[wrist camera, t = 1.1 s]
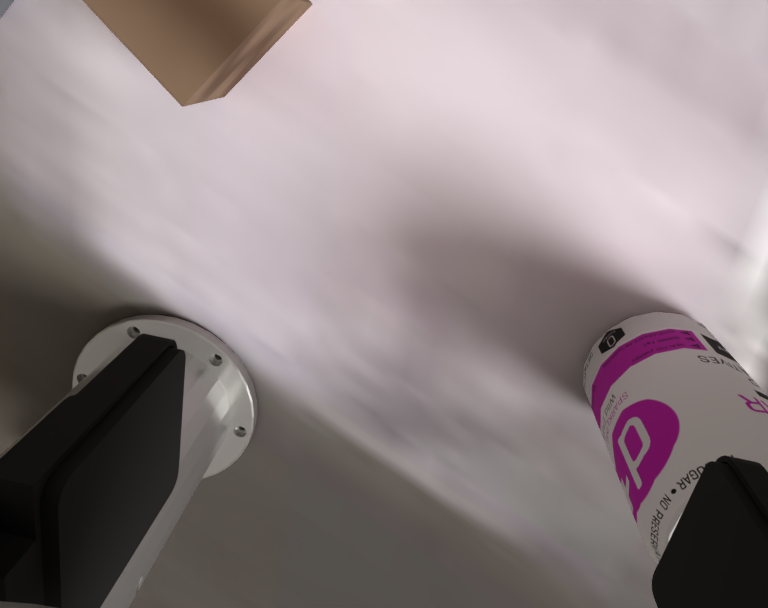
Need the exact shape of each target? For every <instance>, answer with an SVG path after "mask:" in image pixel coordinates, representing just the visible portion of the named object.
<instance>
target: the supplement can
mask: <svg viewBox="0 0 768 608" xmlns="http://www.w3.org/2000/svg"><path fill="white" fill-rule="evenodd" d="M583 387H584V390H585V392H586V395H587V397H588V400H589V403H590V405H591V408H592V410H593V413H594V415H595V418H596V421H597V423H598V426H599V428H600V431H601V433H602V436H603V438H604V441H605V444H606V446H607V449H608V451H609V454H610V456H611V459H612V462H613V464H614V467H615V469H616V472H617V474H618V477H619V480H620V482H621V485H622V487H623V490H624V492H625V495H626V497H627V500H628V503H629V505H630V508H631V510H632V513H633V515H634V518H635V521H636V523H637V526H638V528H639V531H640V533H641V536H642V538H643V541H644V543H645V545H646V548H647V550H648V552H649V555H650V557H651V559H652V560H653V561H655V562H656V563H657V564H658V563H659V561H660V559H661V557H662V555H663V553H664V551H665V549H666V547H667V544H668V542H669V540H670V538H671V536H672V534H673V532H674V530H675V528H676V526H677V524H678V521H679V519H680V517H681V515H682V513H683V511H684V509H685V507H686V505H687V503H688V501H689V498H690V496H691V494H692V492H693V490H694V488H695V486H696V484H697V482H698V480H699V478H700V475H701V473H702V471H703V469H704V467H705V466H706V464H707V463H709V462H711V461H714V462H716V460H717V459H718V458H719V457H721V456H724V455H726V456H730V457H735V458H740V459H745V460H750V461H754V462H758V463H760V464H761V465H762V466H763V467H764V468H765V469H766V471H767V472H768V396H767V395H766V393H765V392H764V391H763V390H762V389H761V388H760V387H759V386H758V385H757V383H756V382H755V381H754V380H753V379H752V378H751V377H750V376H749V375H748V374H747V372H746V371H745V370H744V369H743V368H742V367H741V366H740V365H739V364H738V362H737V361H736V360H735V359H734V358H733V357H732V356H731V355H730V354H729V352H728V351H727V350H726V349H725V348H724V347H723V346H722V345H721V344H720V343H719V341H718V340H717V339H716V338H715V337H714V336H713V335H712V334H711V333H710V332H709V331H708V330H707V328H706V327H705V326H704V325H703V324H701V323H699V322H697V321H695V320H693V319H690V318H688V317H686V316H684V315H682V314H674V313H664V312H652V313H647V314H643V315H638V316H633V317H630V318H628V319H626V320H624V321H623V322H621V323H619V324H617V325H615V326H613V327H612V328H610V329H608V330H607V331H606V332H605V334H604V335H603V336H602V337H601V338H600V339H599V340H598V341H597V342H596V343H595V344H594V345H593V346H592V348H591V351H590V353H589V355H588V358H587V360H586V362H585V365H584V377H583Z"/></svg>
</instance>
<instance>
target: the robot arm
mask: <svg viewBox="0 0 768 608" xmlns="http://www.w3.org/2000/svg"><path fill="white" fill-rule="evenodd" d="M218 355H219V356H218ZM256 421H257V399H256V394H255V390H254V386H253V384H252V381H251V379H250V377H249V374H248V372H247V370H246V369H245V367H244V366H243V364H242V363H241V361H240V360H239V358H238V357H237V356H236V355H235V354H234V353H233V352H232V351H231V350H230V348H229V347H228V346H227V345H226V344H225V343H223V342H222V341H221V340H219V339H218V338H217V337H215V336H214V335H213V334H212V333H210V332H208V331H206V330H205V329H203V328H201V327H199V326H197V325H195V324H193V323H190V322H187V321H184V320H181V319H178V318H175V317H169V316H163V315H138V316H133V317H128V318H124V319H121V320H119V321H117V322H115V323H113V324H110V325H108V326H107V327H106V328H104V329H103V330H102V331H100V332H99V333H98V334H96V335H95V336H94V337H93V338H92V339H91V340H90V341H89V342H88V343H87V344H86V345H85V347H84V348H83V350H82V351H81V353H80V355H79V356H78V358H77V361H76V364H75V367H74V370H73V379H72V390H71V391H70V392H69V393H68V394H67V395H66V396H64V397H63V398H62V399H61V400H60V401H59V402H58V403H57V404H56V405H55V406H54V407H52V408H51V409H50V410H49V411H48V412H47V413H46V414H45V415H44V416H43V417H41V418H40V419H39V420H38V421H37V422H36V423H35V424H34V425H33V426H32V427H31V428H29V429H28V430H27V431H26V432H25V433H24V434H23V435H22V436H21V437H20V438H19V439H17V440H16V441H15V442H14V443H13V444H12V445H11V446H10V447H9V448H8V449H6V450H5V451H4V452H3V453H2V454H1V455H0V608H129V606H130V604H131V602H132V601H133V599H134V597H135V596H136V594H137V592H138V590H139V589H140V587H141V585H142V583H143V581H144V580H145V578H146V576H147V574H148V573H149V571H150V569H151V567H152V566H153V564H154V562H155V560H156V559H157V557H158V555H159V553H160V552H161V550H162V548H163V546H164V545H165V543H166V541H167V539H168V538H169V536H170V534H171V532H172V530H173V529H174V527H175V525H176V523H177V522H178V520H179V518H180V516H181V515H182V513H183V511H184V509H185V508H186V506H187V504H188V502H189V501H190V499H191V497H192V495H193V494H194V492H195V490H196V488H197V487H198V485H199V483H200V481H201V480H202V479H204V478H207V477H210V476H212V475H215V474H218V473H219V472H221V471H223V470H224V469H226V468H228V467H229V466H231V465H232V464H233V463H234V462H235V461H236V460H237V459H238V458H239V457H240V456H241V454H242V453H243V451H244V450H245V448H246V447H247V445H248V443H249V441H250V439H251V437H252V435H253V432H254V429H255V425H256ZM652 591H653V595H654V598H655V601H656V604H657V607H658V608H768V472H767V471H766V469H765V468H764V467H763V466H762V465H761V464H760V463H758V462H754V461H750V460H745V459H740V458H735V457H730V456H726V455H724V456H721V457H719V458H718V459H717V460H716V462H714V461H711V462H709V463H707V464H706V466H705V467H704V469H703V471H702V473H701V475H700V478H699V480H698V482H697V484H696V486H695V488H694V490H693V492H692V494H691V496H690V498H689V501H688V503H687V505H686V507H685V509H684V511H683V513H682V515H681V517H680V519H679V521H678V524H677V526H676V528H675V530H674V532H673V534H672V536H671V538H670V540H669V542H668V544H667V547H666V549H665V551H664V553H663V555H662V557H661V559H660V561H659V563H658V565H657V567H656V570H655V572H654V575H653V579H652Z"/></svg>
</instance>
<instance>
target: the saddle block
mask: <svg viewBox="0 0 768 608" xmlns="http://www.w3.org/2000/svg"><path fill="white" fill-rule="evenodd" d="M83 1H84V2H85V3H86V4H87V5H88V7H89V8H90V9H91V10H92V11H93V12H94V13H95V14H96V15H97V16H98V17H99V18H100V19H101V20H102V22H103V23H104V24H105V25H106V26H107V27H108V28H109V29H110V30H111V31H112V32H113V33H114V34H115V35H116V36H117V38H118V39H119V40H120V41H121V42H122V43H123V44H124V45H125V46H126V47H127V48H128V49H129V50H130V51H131V52H132V54H133V55H134V56H135V57H136V58H137V59H138V60H139V61H140V62H141V63H142V64H143V65H144V66H145V67H146V68H147V70H148V71H149V72H150V73H151V74H152V75H153V76H154V77H155V78H156V79H157V80H158V81H159V82H160V83H161V85H162V86H163V87H164V88H165V89H166V90H167V91H168V92H169V93H170V94H171V95H172V96H173V97H174V98H175V99H176V101H177V102H178V103H179V104H180V105H181V106H182V107H183V106H187V105H191V104H196V103H200V102H204V101H208V100H213V99H217V98H221V97H225V96H226V94H227V93H228V92H229V91H230V90H231V89H232V88H233V87H234V86H235V85H236V84H237V83H238V82H239V81H240V80H241V79H242V78H243V77H244V76H245V75H246V73H247V72H248V71H249V70H250V69H251V68H252V67H253V66H254V65H255V64H256V63H257V62H258V61H259V60H260V59H261V58H262V57H263V56H264V55H265V53H266V52H267V51H268V50H269V49H270V48H271V47H272V46H273V45H274V44H275V43H276V42H277V41H278V40H279V39H280V38H281V37H282V36H283V35H284V34H285V32H286V31H287V30H288V29H289V28H290V27H291V26H292V25H293V24H294V23H295V22H296V21H297V20H298V19H299V18H300V17H301V16H302V15H303V14H304V13H305V11H306V10H307V9H308V8H309V7H310V6H311V5H312V3H311V2H310V1H309V0H83Z"/></svg>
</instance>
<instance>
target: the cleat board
mask: <svg viewBox="0 0 768 608" xmlns="http://www.w3.org/2000/svg"><path fill="white" fill-rule="evenodd" d="M13 1H14V0H0V18H1V17H2V15H3V14H4V13H5V11H6V10H7V9H8V7H9V6H10V5H11V3H12V2H13Z"/></svg>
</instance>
